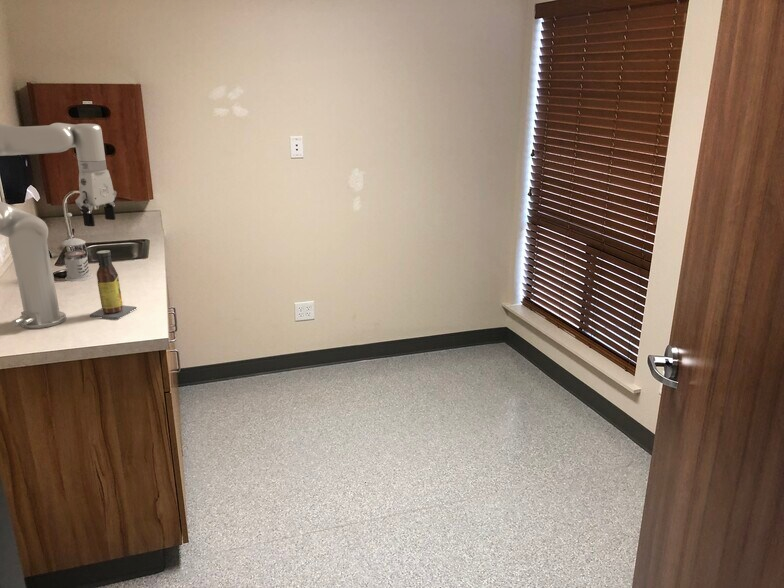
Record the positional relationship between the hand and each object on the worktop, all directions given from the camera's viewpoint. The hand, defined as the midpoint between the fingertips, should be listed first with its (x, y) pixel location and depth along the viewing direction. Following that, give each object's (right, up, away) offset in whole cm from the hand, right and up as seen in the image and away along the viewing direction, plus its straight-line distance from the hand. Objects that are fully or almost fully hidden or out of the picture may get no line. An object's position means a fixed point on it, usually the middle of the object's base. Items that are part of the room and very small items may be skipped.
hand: (100, 222), depth 184 cm
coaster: (-1, -28, +10) cm, 30 cm away
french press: (-30, -16, +45) cm, 56 cm away
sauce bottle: (-1, -28, +9) cm, 29 cm away
